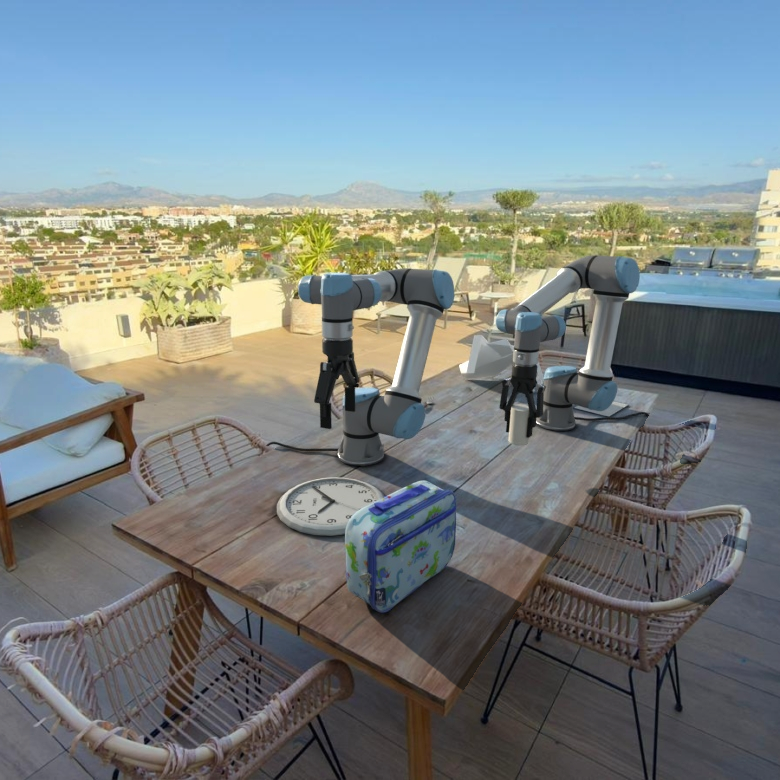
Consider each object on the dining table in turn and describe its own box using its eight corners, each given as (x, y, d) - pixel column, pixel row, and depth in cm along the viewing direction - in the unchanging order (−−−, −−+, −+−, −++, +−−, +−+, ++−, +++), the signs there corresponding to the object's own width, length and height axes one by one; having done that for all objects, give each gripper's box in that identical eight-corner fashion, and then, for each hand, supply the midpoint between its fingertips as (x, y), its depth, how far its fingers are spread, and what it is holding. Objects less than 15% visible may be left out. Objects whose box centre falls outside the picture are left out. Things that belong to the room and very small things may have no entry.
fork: (417, 411, 216) (418, 406, 216) (428, 400, 231) (428, 395, 230) (423, 412, 215) (424, 407, 215) (434, 400, 230) (434, 396, 229)
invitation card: (608, 416, 214) (573, 407, 224) (608, 416, 214) (573, 408, 224) (628, 404, 229) (594, 396, 238) (628, 405, 229) (594, 397, 238)
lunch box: (374, 626, 100) (375, 530, 93) (338, 598, 107) (337, 508, 101) (459, 568, 117) (465, 484, 111) (424, 547, 124) (427, 467, 118)
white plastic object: (480, 421, 262) (459, 398, 238) (462, 347, 285) (440, 320, 260) (552, 397, 250) (537, 370, 226) (527, 322, 272) (511, 290, 248)
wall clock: (392, 527, 129) (268, 531, 127) (391, 533, 130) (269, 537, 127) (383, 473, 158) (282, 475, 155) (383, 478, 158) (282, 480, 156)
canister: (505, 442, 167) (507, 408, 164) (513, 436, 172) (516, 403, 168) (523, 447, 163) (526, 412, 160) (531, 441, 168) (534, 407, 165)
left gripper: (326, 349, 116) (328, 438, 122) (371, 330, 138) (371, 406, 144) (297, 346, 118) (300, 433, 125) (346, 328, 140) (346, 402, 147)
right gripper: (490, 361, 162) (486, 430, 169) (550, 371, 151) (543, 444, 158) (501, 356, 168) (496, 423, 175) (560, 366, 157) (552, 437, 164)
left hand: (338, 419), depth 134 cm, fingers open, 13 cm apart
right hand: (518, 433), depth 167 cm, fingers closed on canister, 6 cm apart
